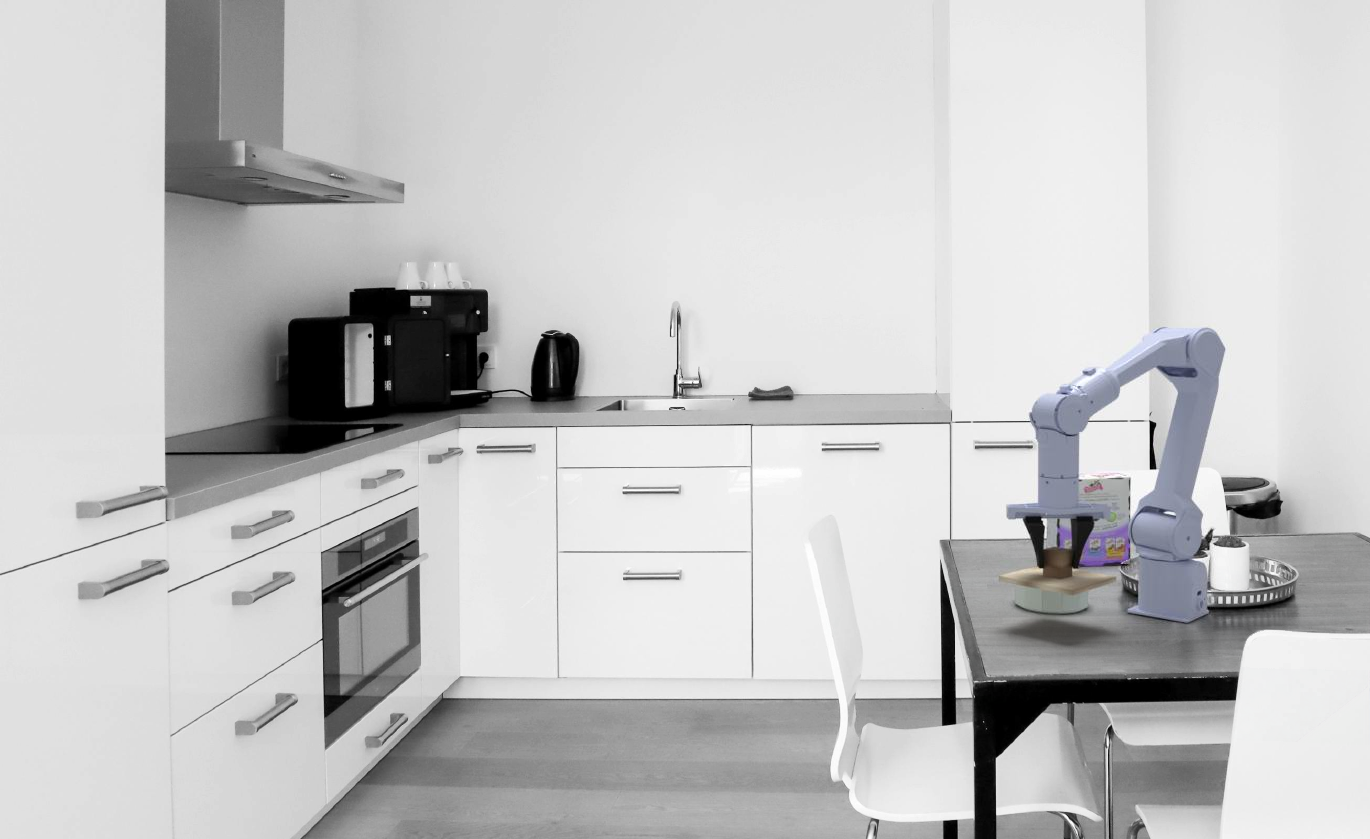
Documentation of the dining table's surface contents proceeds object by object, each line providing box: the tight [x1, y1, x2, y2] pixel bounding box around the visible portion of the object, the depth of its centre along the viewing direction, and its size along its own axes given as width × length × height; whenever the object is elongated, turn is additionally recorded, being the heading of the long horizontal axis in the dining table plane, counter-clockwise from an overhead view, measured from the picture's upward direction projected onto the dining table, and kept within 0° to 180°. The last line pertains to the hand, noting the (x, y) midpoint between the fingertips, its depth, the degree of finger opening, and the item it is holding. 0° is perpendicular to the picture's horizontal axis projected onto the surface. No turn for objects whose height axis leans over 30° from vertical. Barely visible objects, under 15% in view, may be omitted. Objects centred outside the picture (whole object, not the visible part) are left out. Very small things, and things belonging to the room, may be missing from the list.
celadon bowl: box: [1014, 584, 1089, 615], centre depth 187 cm, size 11×11×5 cm
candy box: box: [1046, 472, 1132, 568], centre depth 216 cm, size 14×6×16 cm, turn 92°
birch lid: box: [998, 547, 1117, 595], centre depth 172 cm, size 12×12×5 cm
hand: (1057, 567), depth 172 cm, fingers closed on birch lid, 4 cm apart
